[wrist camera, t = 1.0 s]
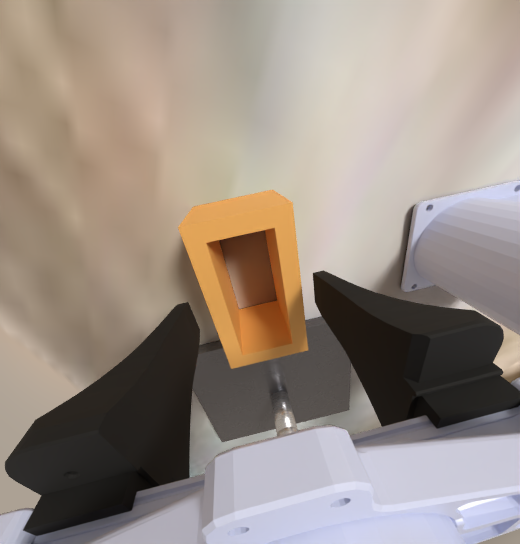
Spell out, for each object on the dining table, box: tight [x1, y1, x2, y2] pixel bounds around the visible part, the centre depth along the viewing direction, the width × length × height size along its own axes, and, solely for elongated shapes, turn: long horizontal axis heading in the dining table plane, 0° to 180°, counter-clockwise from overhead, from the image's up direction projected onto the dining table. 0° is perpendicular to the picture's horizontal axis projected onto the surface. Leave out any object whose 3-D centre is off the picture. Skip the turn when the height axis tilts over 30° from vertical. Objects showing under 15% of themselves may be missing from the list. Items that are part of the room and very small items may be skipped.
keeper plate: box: [192, 317, 351, 442], centre depth 21 cm, size 16×15×6 cm
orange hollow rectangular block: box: [178, 190, 308, 369], centre depth 14 cm, size 5×10×5 cm, turn 11°
